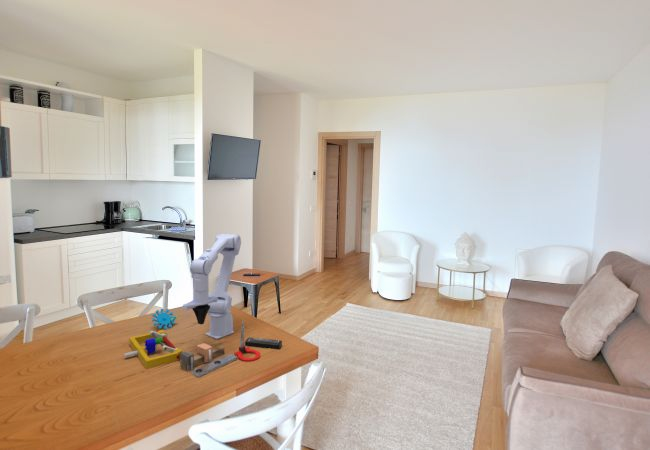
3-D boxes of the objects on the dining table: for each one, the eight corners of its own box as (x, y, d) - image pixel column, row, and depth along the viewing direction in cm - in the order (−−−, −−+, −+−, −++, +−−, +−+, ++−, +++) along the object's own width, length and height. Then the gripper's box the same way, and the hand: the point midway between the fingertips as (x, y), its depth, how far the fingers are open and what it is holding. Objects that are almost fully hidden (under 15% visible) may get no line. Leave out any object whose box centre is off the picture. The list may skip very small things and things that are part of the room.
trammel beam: (217, 350, 155) (217, 338, 154) (227, 355, 152) (227, 342, 151) (179, 367, 141) (179, 353, 141) (189, 372, 138) (188, 358, 137)
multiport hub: (279, 350, 158) (279, 345, 158) (244, 346, 160) (244, 341, 160) (282, 345, 162) (282, 340, 162) (248, 342, 165) (248, 337, 164)
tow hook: (264, 357, 152) (249, 349, 158) (265, 325, 150) (250, 318, 156) (247, 365, 145) (231, 356, 151) (248, 332, 143) (232, 324, 149)
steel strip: (230, 356, 151) (230, 353, 151) (237, 359, 149) (237, 356, 148) (191, 373, 137) (191, 370, 137) (198, 377, 135) (198, 374, 135)
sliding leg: (203, 356, 150) (203, 342, 149) (213, 361, 147) (213, 347, 146) (196, 359, 148) (196, 345, 147) (207, 364, 144) (206, 350, 143)
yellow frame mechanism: (161, 320, 170) (186, 344, 147) (162, 334, 171) (186, 360, 147) (114, 329, 158) (133, 358, 135) (115, 344, 159) (133, 375, 136)
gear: (154, 329, 170) (151, 308, 175) (150, 335, 174) (147, 314, 179) (179, 326, 177) (176, 307, 183) (175, 332, 181) (172, 313, 186)
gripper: (209, 284, 162) (209, 316, 163) (178, 291, 150) (178, 326, 152) (220, 287, 158) (220, 320, 159) (189, 295, 146) (189, 330, 148)
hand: (200, 323), depth 155 cm, fingers closed
